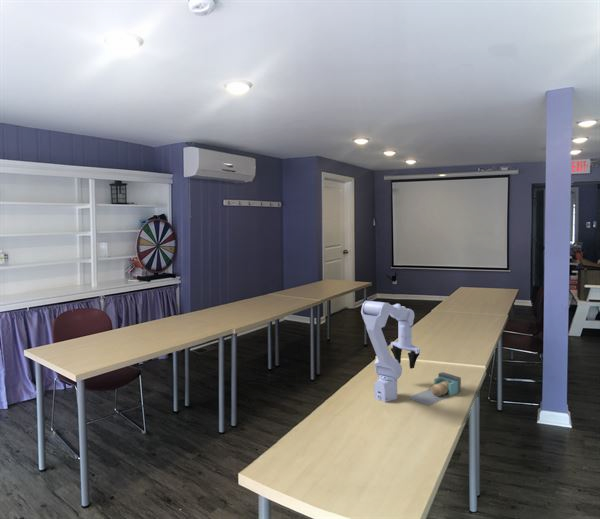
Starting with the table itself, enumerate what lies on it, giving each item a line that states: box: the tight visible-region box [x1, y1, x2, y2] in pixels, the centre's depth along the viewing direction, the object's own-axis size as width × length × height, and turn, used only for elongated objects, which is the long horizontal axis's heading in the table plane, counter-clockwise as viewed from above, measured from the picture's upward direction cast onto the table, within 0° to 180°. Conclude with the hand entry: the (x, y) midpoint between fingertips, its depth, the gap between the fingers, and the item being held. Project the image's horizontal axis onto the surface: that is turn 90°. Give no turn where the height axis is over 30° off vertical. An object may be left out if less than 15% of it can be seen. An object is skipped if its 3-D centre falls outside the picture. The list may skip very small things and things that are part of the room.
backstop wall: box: [437, 371, 462, 393], centre depth 195 cm, size 3×9×6 cm, turn 37°
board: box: [408, 388, 450, 406], centre depth 188 cm, size 20×10×1 cm, turn 127°
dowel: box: [430, 381, 450, 398], centre depth 189 cm, size 8×5×5 cm, turn 127°
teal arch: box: [433, 376, 459, 397], centre depth 192 cm, size 5×8×5 cm, turn 37°
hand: (405, 365), depth 198 cm, fingers open, 7 cm apart
